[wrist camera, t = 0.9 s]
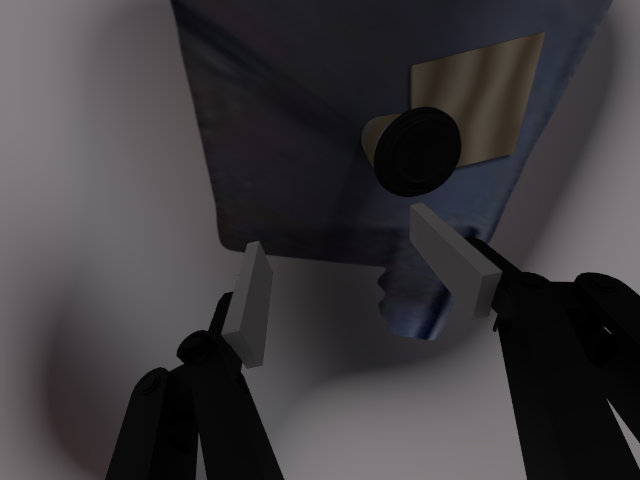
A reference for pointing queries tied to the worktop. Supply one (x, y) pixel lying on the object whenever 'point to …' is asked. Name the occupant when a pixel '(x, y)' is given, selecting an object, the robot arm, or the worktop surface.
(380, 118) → the coffee cup
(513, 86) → the brown striped mat
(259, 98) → the worktop surface
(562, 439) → the robot arm
